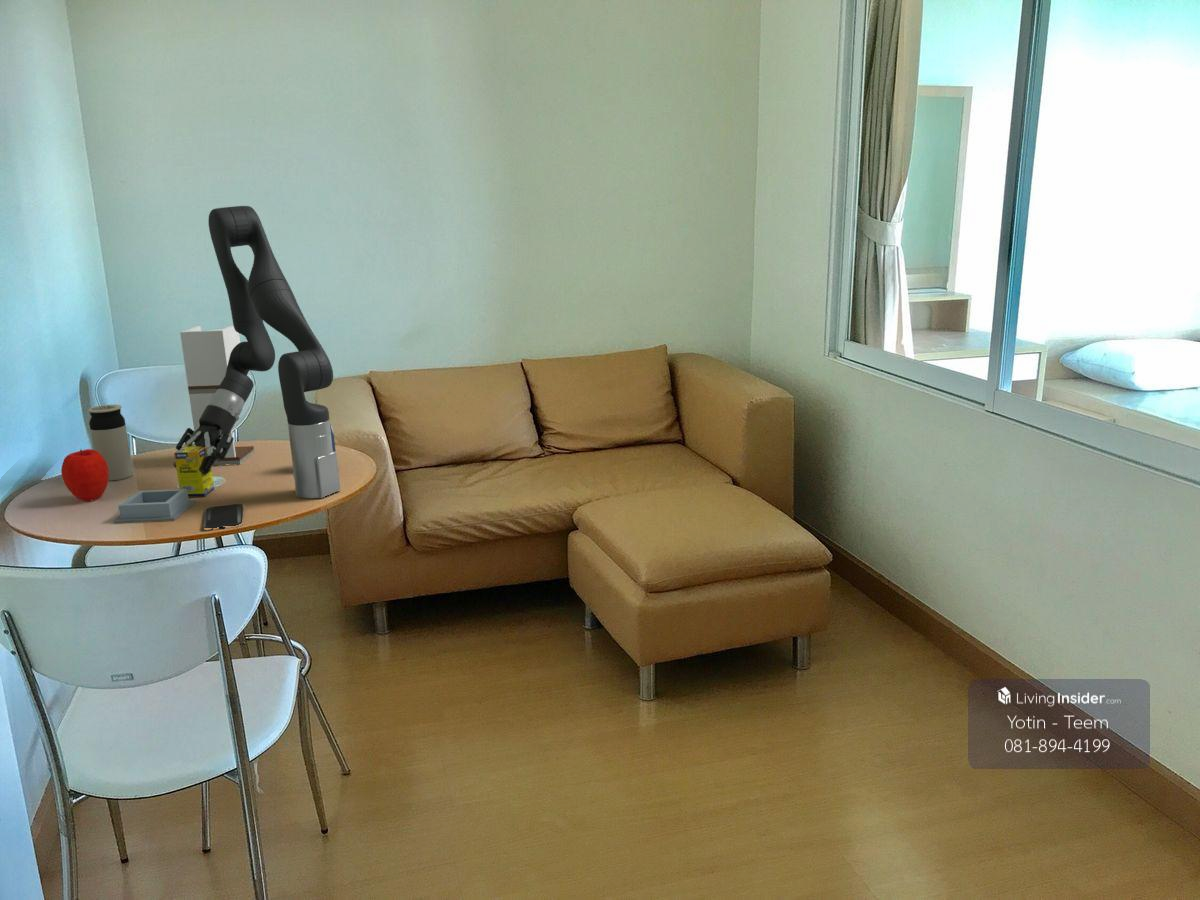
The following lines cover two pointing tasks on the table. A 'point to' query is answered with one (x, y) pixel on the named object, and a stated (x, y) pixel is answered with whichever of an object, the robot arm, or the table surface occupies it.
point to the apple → (85, 474)
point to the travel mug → (111, 440)
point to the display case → (209, 375)
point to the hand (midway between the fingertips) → (189, 470)
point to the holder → (154, 506)
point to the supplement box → (193, 471)
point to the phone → (223, 516)
